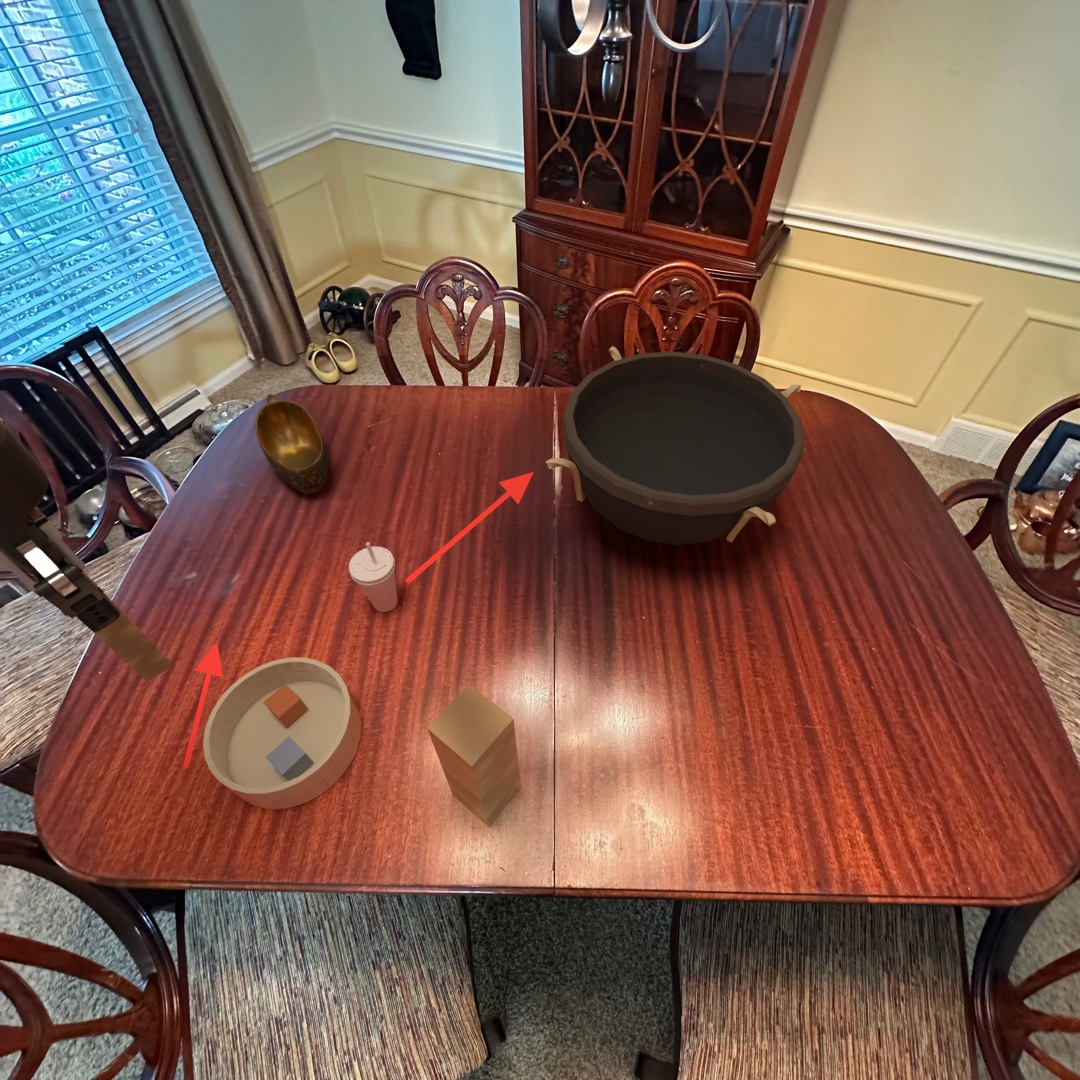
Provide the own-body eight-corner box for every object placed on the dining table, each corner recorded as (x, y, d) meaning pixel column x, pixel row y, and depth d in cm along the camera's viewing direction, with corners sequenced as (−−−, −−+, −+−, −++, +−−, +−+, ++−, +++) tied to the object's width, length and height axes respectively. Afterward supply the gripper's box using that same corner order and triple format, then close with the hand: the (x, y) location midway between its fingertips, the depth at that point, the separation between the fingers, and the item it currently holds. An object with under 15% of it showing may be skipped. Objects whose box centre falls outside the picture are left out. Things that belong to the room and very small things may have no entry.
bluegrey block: (291, 784, 74) (282, 775, 71) (275, 767, 75) (265, 757, 73) (314, 763, 76) (305, 752, 73) (297, 746, 77) (288, 735, 75)
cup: (346, 430, 119) (332, 387, 111) (331, 503, 106) (313, 460, 98) (280, 434, 118) (261, 391, 111) (256, 507, 105) (233, 465, 98)
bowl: (780, 468, 110) (817, 375, 95) (750, 621, 89) (792, 533, 74) (596, 424, 119) (603, 333, 104) (529, 555, 98) (525, 464, 82)
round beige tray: (277, 841, 70) (258, 826, 66) (197, 749, 78) (175, 730, 73) (389, 729, 79) (379, 709, 74) (307, 656, 86) (294, 634, 82)
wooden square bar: (148, 683, 54) (50, 593, 44) (135, 668, 55) (36, 576, 45) (173, 664, 55) (83, 572, 45) (160, 650, 56) (69, 556, 46)
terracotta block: (287, 728, 79) (278, 717, 76) (272, 713, 80) (262, 702, 77) (308, 709, 80) (300, 698, 78) (293, 694, 82) (284, 683, 79)
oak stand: (488, 827, 71) (471, 766, 56) (452, 794, 74) (426, 727, 58) (521, 786, 74) (513, 718, 59) (485, 756, 77) (469, 683, 61)
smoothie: (399, 622, 90) (378, 564, 79) (358, 616, 90) (332, 559, 80) (411, 587, 94) (393, 528, 83) (372, 582, 95) (349, 523, 84)
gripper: (-182, 433, 36) (13, 598, 49) (-106, 543, 30) (91, 696, 44) (-44, 376, 40) (103, 543, 53) (47, 464, 34) (187, 627, 47)
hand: (97, 612), depth 48 cm, fingers closed on wooden square bar, 2 cm apart
